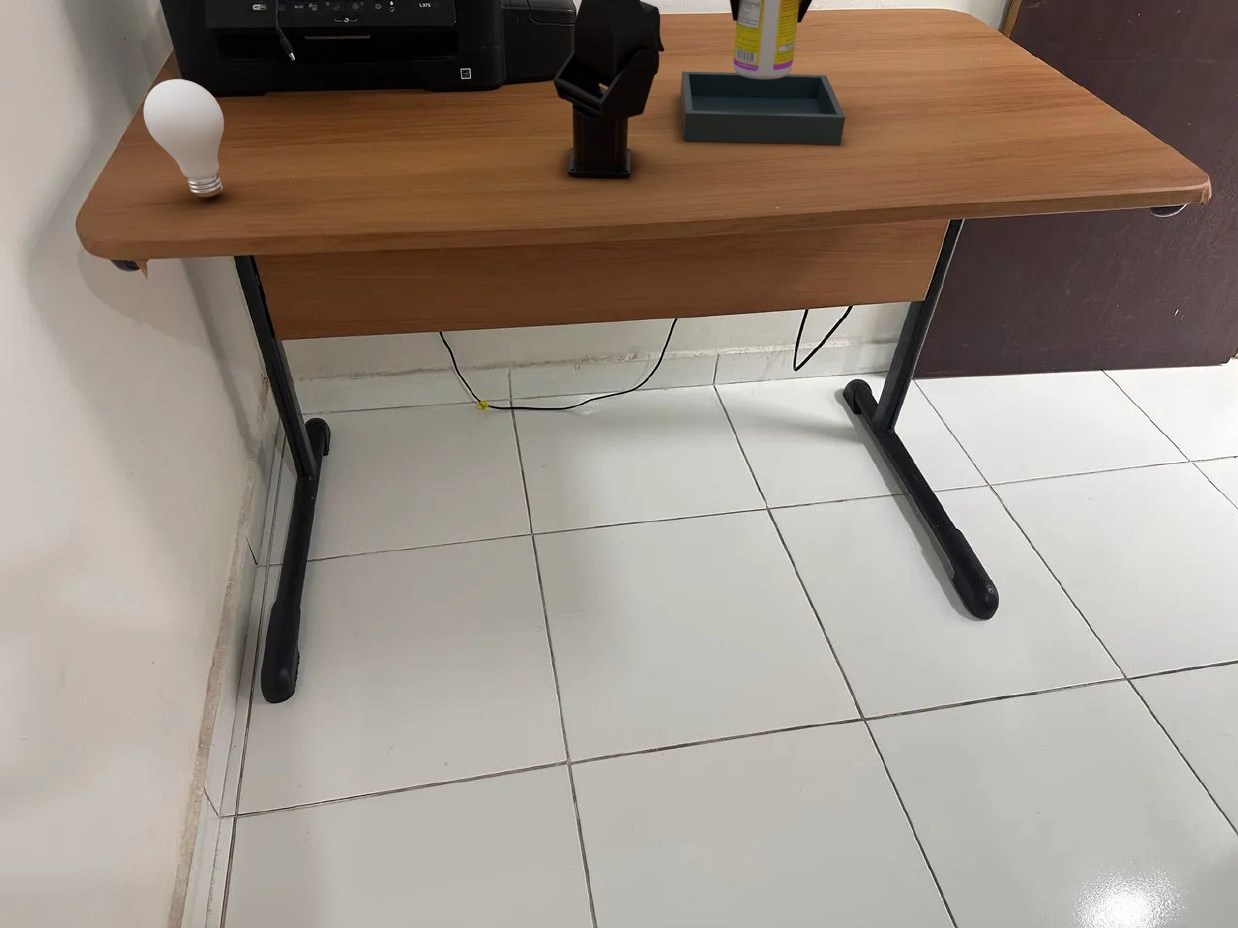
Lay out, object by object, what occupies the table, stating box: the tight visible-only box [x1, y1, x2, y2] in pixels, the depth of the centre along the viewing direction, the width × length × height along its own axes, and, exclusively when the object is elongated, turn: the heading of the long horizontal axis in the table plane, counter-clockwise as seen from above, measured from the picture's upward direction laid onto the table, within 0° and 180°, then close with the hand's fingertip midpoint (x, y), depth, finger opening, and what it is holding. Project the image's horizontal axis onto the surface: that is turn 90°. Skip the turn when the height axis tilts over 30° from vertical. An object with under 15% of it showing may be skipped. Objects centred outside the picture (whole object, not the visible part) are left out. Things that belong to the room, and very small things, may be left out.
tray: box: [679, 70, 846, 146], centre depth 101 cm, size 14×18×3 cm
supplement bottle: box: [733, 0, 800, 80], centre depth 94 cm, size 7×7×13 cm
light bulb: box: [143, 78, 225, 199], centre depth 81 cm, size 7×7×11 cm
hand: (766, 21), depth 95 cm, fingers closed on supplement bottle, 7 cm apart
